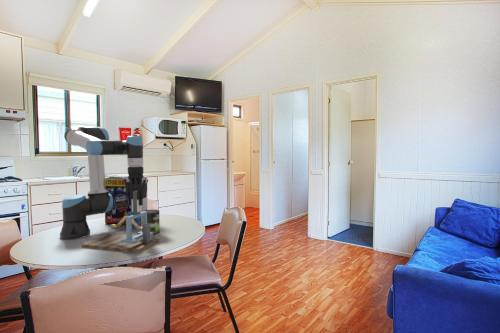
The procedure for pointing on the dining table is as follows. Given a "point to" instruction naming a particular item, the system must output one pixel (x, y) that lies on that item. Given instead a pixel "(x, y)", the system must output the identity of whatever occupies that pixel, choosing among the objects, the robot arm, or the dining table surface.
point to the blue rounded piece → (135, 219)
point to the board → (117, 244)
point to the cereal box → (119, 200)
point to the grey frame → (129, 222)
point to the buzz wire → (144, 229)
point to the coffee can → (153, 221)
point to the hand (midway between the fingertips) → (136, 211)
